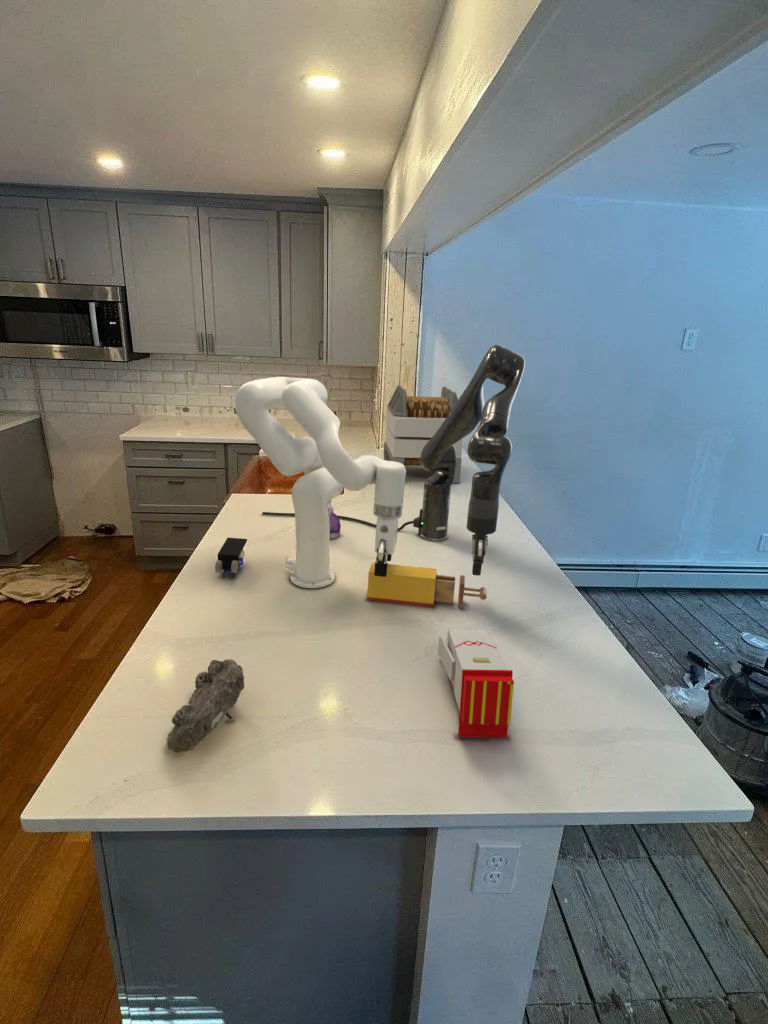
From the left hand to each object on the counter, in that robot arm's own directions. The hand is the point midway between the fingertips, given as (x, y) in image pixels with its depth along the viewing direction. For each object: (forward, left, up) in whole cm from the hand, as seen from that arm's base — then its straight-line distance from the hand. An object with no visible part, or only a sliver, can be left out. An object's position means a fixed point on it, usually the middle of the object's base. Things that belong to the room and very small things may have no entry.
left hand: (382, 567), depth 154 cm
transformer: (-28, +124, -9) cm, 127 cm away
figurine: (-32, +33, -9) cm, 47 cm away
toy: (+32, -31, -9) cm, 45 cm away
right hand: (+24, +5, +1) cm, 25 cm away
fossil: (-12, -59, -9) cm, 61 cm away
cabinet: (+5, +1, -9) cm, 10 cm away
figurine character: (-46, -4, -9) cm, 47 cm away
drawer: (+17, +3, -8) cm, 18 cm away
